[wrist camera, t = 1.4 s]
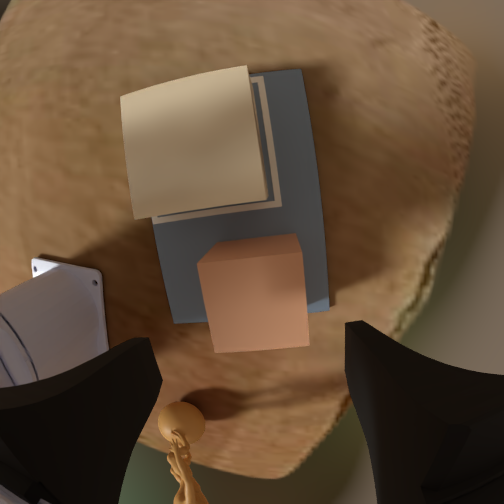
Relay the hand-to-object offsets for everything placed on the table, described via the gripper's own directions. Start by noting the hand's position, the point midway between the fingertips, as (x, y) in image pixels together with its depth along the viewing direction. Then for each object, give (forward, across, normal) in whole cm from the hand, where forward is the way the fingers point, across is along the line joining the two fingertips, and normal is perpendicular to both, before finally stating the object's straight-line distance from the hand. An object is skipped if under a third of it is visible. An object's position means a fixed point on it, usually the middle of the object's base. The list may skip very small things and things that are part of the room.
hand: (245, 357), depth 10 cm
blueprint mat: (+10, +1, -5) cm, 11 cm away
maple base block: (+10, +2, -8) cm, 13 cm away
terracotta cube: (+10, 0, 0) cm, 10 cm away
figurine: (+10, +7, +12) cm, 17 cm away
